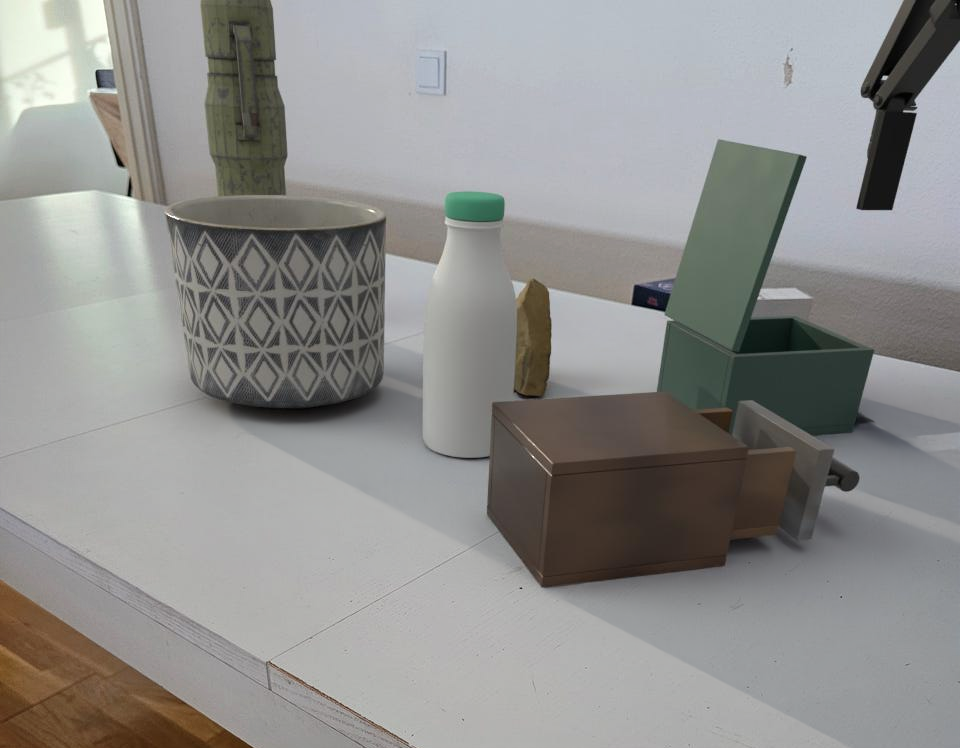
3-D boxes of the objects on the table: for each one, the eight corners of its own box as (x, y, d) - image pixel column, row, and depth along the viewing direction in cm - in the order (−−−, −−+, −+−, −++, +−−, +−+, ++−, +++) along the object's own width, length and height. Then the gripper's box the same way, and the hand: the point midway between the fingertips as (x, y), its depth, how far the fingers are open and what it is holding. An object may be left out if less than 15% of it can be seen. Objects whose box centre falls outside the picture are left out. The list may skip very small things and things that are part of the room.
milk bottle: (521, 457, 80) (539, 201, 69) (434, 463, 78) (438, 201, 67) (495, 426, 86) (507, 187, 75) (413, 431, 84) (414, 186, 73)
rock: (573, 381, 91) (583, 341, 98) (524, 307, 87) (538, 271, 95) (485, 432, 96) (501, 391, 104) (435, 365, 92) (455, 326, 100)
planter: (269, 353, 102) (257, 188, 94) (422, 383, 96) (424, 209, 87) (144, 400, 88) (115, 210, 79) (315, 440, 81) (304, 237, 72)
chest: (778, 391, 99) (795, 315, 95) (852, 432, 89) (874, 349, 85) (655, 399, 95) (666, 320, 91) (718, 443, 85) (734, 356, 81)
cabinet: (649, 498, 74) (665, 390, 69) (725, 565, 64) (749, 447, 60) (486, 514, 70) (491, 401, 65) (541, 588, 61) (552, 463, 56)
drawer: (781, 478, 76) (800, 396, 72) (862, 533, 68) (888, 444, 64) (592, 496, 71) (602, 409, 67) (654, 558, 63) (669, 463, 59)
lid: (724, 141, 83) (717, 139, 83) (807, 156, 73) (799, 154, 73) (671, 316, 90) (663, 315, 90) (739, 352, 80) (731, 351, 80)
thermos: (285, 300, 124) (264, -23, 105) (307, 322, 114) (288, -27, 96) (218, 303, 120) (182, -29, 102) (234, 326, 111) (199, -34, 92)
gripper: (859, -143, 63) (791, 198, 75) (1180, -224, 43) (1020, 260, 55) (951, -133, 65) (870, 199, 77) (1300, -206, 45) (1120, 258, 57)
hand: (932, 225), depth 66 cm, fingers open, 13 cm apart
